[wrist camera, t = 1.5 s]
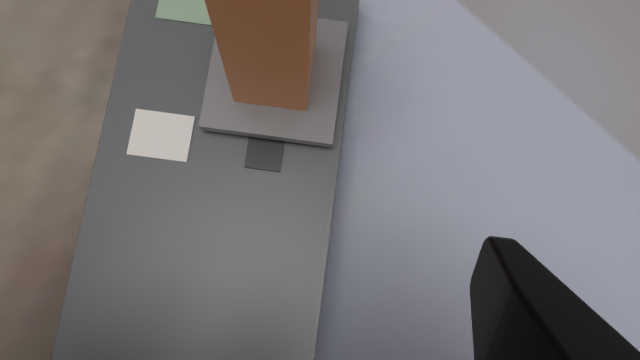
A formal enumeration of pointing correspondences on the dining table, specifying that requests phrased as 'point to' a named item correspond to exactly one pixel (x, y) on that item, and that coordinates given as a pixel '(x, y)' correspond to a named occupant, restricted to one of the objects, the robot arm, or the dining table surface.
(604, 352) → the robot arm
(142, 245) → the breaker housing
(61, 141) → the dining table surface
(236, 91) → the handle
